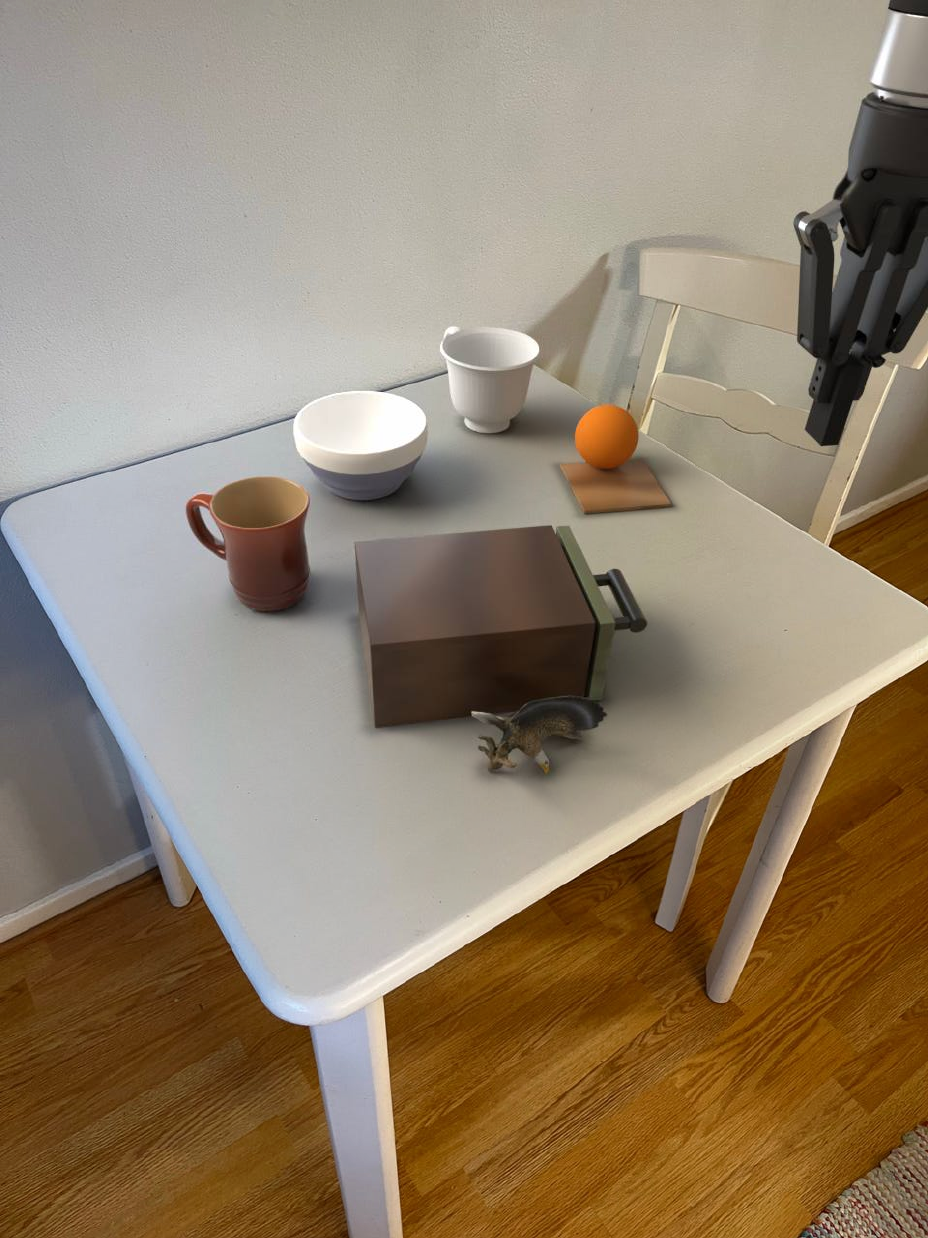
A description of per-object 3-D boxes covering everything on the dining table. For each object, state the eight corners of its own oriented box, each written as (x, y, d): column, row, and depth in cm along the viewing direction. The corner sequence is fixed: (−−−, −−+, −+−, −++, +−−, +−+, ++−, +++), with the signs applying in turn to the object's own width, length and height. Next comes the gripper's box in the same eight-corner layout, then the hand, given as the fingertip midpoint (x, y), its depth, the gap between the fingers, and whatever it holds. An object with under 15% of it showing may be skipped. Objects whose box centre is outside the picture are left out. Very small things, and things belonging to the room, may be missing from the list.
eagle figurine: (537, 811, 66) (623, 740, 69) (494, 731, 63) (586, 662, 67) (486, 787, 72) (567, 723, 76) (446, 714, 70) (532, 652, 74)
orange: (653, 440, 99) (636, 389, 102) (590, 445, 97) (575, 393, 101) (636, 478, 105) (621, 429, 108) (577, 483, 104) (563, 434, 107)
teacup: (482, 384, 121) (485, 311, 115) (554, 429, 112) (562, 352, 106) (408, 407, 116) (406, 332, 109) (477, 456, 107) (480, 377, 100)
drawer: (603, 595, 87) (615, 521, 81) (650, 694, 76) (668, 617, 71) (380, 616, 83) (377, 541, 78) (399, 723, 73) (396, 645, 68)
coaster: (671, 506, 99) (671, 503, 99) (584, 513, 98) (584, 510, 97) (641, 460, 107) (641, 457, 106) (560, 466, 105) (560, 463, 105)
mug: (333, 575, 88) (326, 486, 82) (293, 630, 82) (281, 538, 75) (225, 550, 91) (209, 462, 84) (178, 602, 85) (156, 510, 78)
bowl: (278, 505, 97) (271, 443, 93) (325, 441, 108) (321, 382, 103) (407, 526, 95) (406, 463, 90) (442, 458, 106) (442, 399, 101)
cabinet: (543, 602, 86) (551, 524, 80) (583, 703, 76) (595, 622, 70) (359, 620, 83) (354, 541, 77) (374, 727, 73) (370, 645, 67)
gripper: (863, 109, 52) (764, 467, 67) (1062, 107, 54) (922, 455, 69) (802, 84, 57) (724, 420, 72) (984, 83, 59) (871, 409, 74)
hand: (821, 436), depth 71 cm, fingers closed
